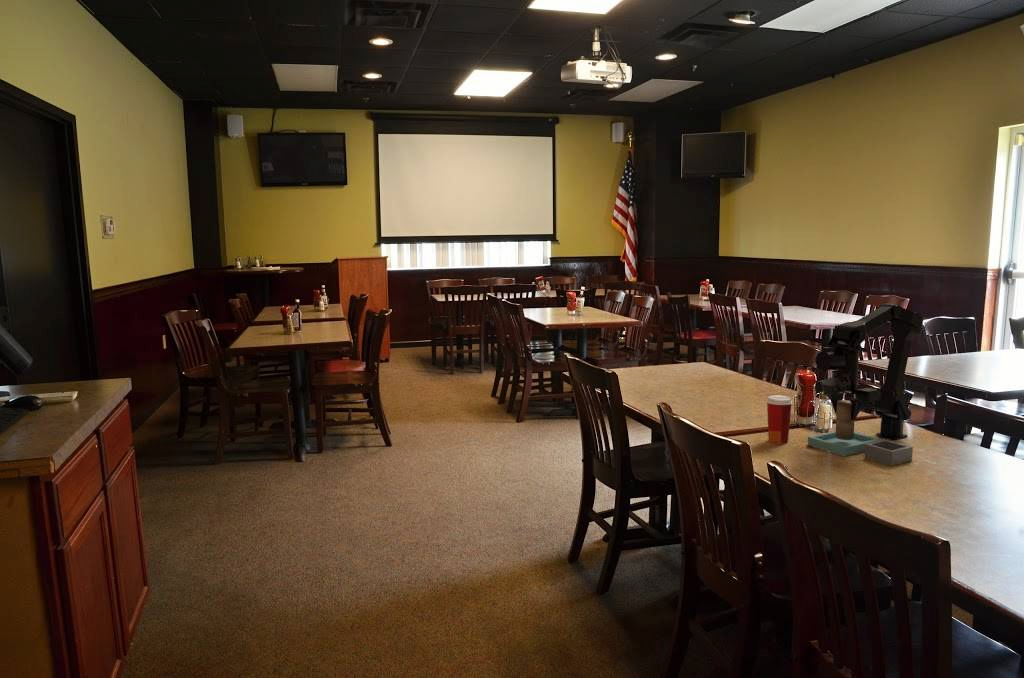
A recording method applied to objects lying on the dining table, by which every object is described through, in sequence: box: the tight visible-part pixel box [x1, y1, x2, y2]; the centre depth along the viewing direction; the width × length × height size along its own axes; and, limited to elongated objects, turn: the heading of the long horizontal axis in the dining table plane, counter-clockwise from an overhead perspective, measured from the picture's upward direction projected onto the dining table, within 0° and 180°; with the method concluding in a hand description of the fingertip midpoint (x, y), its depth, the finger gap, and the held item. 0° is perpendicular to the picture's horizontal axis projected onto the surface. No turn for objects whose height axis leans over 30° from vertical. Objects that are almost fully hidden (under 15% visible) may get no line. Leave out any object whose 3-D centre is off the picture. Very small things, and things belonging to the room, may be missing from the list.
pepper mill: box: [835, 399, 855, 440], centre depth 215 cm, size 5×5×11 cm
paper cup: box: [765, 394, 794, 445], centre depth 221 cm, size 8×8×14 cm
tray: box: [807, 430, 883, 457], centre depth 216 cm, size 16×13×2 cm
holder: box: [863, 439, 914, 467], centre depth 203 cm, size 9×9×4 cm
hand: (845, 418), depth 215 cm, fingers closed on pepper mill, 5 cm apart
